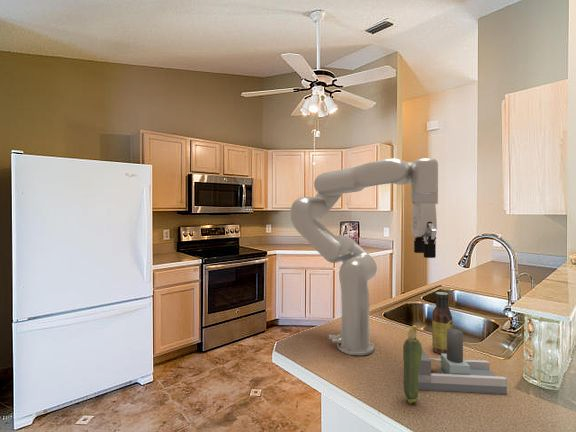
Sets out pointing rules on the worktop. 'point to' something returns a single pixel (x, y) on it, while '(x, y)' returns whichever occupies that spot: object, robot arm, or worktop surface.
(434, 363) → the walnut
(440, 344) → the sauce bottle
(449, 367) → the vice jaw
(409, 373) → the vegetable
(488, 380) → the vice bench
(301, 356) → the worktop surface
